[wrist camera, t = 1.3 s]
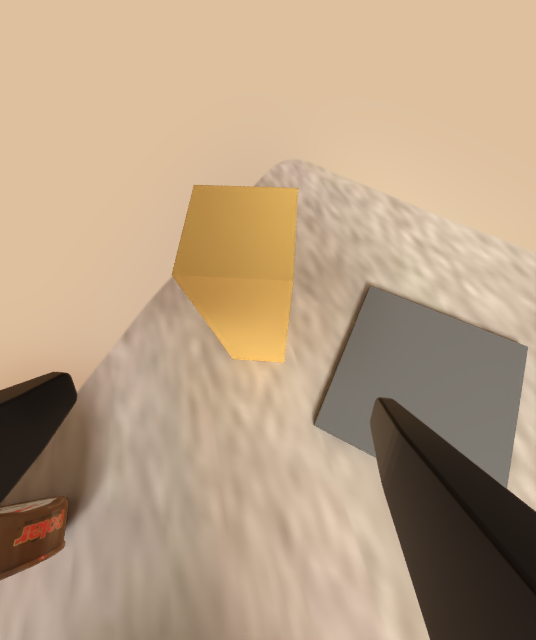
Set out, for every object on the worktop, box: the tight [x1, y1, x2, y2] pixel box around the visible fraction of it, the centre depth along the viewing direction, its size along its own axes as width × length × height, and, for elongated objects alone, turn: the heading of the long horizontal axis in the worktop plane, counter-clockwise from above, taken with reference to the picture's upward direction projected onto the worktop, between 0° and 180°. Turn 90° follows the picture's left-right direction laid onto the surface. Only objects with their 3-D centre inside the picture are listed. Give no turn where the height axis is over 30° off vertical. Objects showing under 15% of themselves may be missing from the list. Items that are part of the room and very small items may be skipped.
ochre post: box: [172, 185, 298, 363], centre depth 15 cm, size 4×4×12 cm
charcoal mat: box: [314, 286, 528, 488], centre depth 19 cm, size 12×12×1 cm
